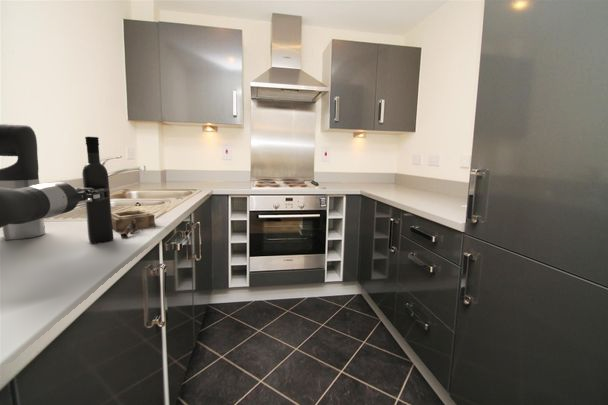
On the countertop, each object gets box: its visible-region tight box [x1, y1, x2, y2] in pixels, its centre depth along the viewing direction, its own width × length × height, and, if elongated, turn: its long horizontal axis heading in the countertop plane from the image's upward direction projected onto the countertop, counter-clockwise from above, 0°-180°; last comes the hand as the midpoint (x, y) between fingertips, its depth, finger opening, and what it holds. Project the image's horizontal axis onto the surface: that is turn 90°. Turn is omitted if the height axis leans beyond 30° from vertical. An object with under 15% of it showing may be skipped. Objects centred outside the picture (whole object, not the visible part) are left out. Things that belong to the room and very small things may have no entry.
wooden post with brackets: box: [119, 219, 138, 239], centre depth 93 cm, size 2×8×4 cm, turn 5°
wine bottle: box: [81, 136, 114, 245], centre depth 84 cm, size 6×6×30 cm
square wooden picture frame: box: [111, 209, 156, 233], centre depth 104 cm, size 12×12×5 cm
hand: (91, 191), depth 81 cm, fingers open, 8 cm apart
